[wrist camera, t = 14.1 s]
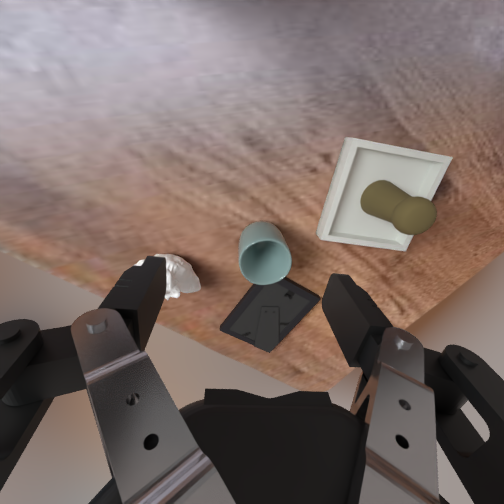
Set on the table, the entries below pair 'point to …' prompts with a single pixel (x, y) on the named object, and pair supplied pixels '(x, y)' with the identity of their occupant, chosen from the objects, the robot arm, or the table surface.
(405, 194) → the olive rounded piece
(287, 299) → the picture frame
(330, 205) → the tray
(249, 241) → the cup
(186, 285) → the bust
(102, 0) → the table surface
